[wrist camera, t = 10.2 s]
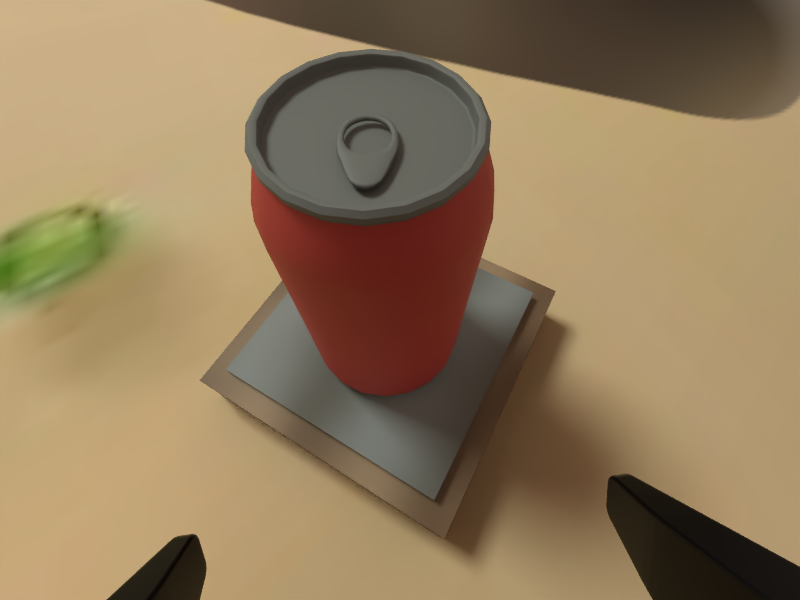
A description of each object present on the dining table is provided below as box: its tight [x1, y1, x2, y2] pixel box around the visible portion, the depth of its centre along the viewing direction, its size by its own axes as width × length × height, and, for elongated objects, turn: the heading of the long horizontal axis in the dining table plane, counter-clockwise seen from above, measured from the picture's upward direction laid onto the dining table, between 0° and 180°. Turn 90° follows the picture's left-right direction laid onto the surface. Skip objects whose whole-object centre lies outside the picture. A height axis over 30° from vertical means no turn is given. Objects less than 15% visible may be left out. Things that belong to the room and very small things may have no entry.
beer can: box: [245, 49, 494, 396], centre depth 14 cm, size 7×7×12 cm
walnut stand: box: [200, 258, 556, 539], centre depth 21 cm, size 13×13×3 cm
